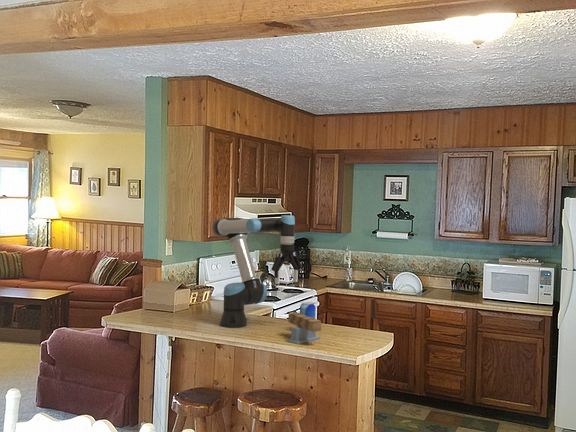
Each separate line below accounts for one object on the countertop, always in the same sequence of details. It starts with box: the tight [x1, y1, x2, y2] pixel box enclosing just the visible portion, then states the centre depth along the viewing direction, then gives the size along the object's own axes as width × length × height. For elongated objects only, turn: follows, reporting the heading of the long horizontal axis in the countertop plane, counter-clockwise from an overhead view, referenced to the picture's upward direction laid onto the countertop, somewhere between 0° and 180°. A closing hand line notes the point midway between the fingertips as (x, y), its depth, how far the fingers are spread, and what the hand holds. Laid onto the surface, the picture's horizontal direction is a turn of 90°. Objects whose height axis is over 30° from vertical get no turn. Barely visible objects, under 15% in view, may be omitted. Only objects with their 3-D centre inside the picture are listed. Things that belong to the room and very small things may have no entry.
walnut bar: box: [288, 311, 322, 333], centre depth 303 cm, size 24×5×5 cm, turn 29°
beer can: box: [299, 301, 316, 319], centre depth 322 cm, size 8×8×16 cm
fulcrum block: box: [286, 326, 321, 345], centre depth 304 cm, size 8×16×7 cm, turn 134°
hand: (286, 282), depth 321 cm, fingers open, 13 cm apart
